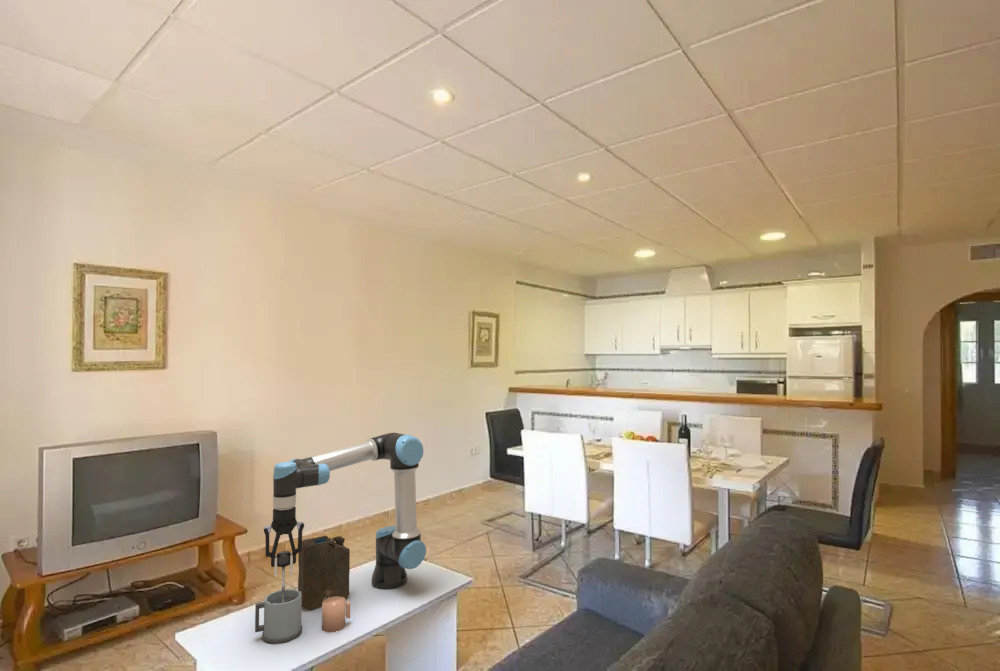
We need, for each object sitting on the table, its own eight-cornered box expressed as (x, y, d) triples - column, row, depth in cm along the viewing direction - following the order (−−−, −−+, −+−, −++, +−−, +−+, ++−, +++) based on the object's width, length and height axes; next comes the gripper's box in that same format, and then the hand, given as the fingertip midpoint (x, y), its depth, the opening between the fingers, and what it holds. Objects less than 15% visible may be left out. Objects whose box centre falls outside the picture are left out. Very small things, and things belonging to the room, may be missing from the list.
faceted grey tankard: (300, 622, 195) (301, 586, 196) (303, 639, 183) (304, 600, 184) (254, 631, 189) (255, 594, 189) (254, 649, 177) (255, 609, 177)
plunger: (296, 597, 193) (296, 546, 194) (297, 608, 185) (298, 555, 185) (268, 602, 189) (269, 550, 190) (268, 613, 181) (269, 559, 182)
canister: (303, 613, 202) (304, 546, 203) (296, 605, 209) (297, 540, 210) (350, 598, 214) (351, 535, 215) (342, 591, 220) (342, 530, 222)
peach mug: (347, 618, 198) (348, 593, 198) (351, 628, 190) (351, 602, 191) (320, 624, 194) (321, 598, 194) (323, 634, 186) (323, 608, 187)
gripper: (309, 501, 195) (308, 566, 194) (257, 507, 188) (256, 574, 187) (311, 506, 189) (310, 574, 188) (257, 512, 181) (256, 582, 180)
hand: (283, 574), depth 187 cm, fingers closed on plunger, 4 cm apart
